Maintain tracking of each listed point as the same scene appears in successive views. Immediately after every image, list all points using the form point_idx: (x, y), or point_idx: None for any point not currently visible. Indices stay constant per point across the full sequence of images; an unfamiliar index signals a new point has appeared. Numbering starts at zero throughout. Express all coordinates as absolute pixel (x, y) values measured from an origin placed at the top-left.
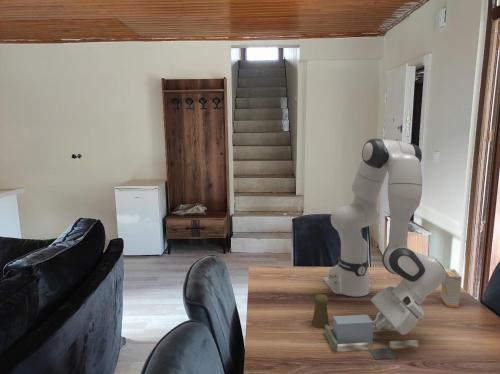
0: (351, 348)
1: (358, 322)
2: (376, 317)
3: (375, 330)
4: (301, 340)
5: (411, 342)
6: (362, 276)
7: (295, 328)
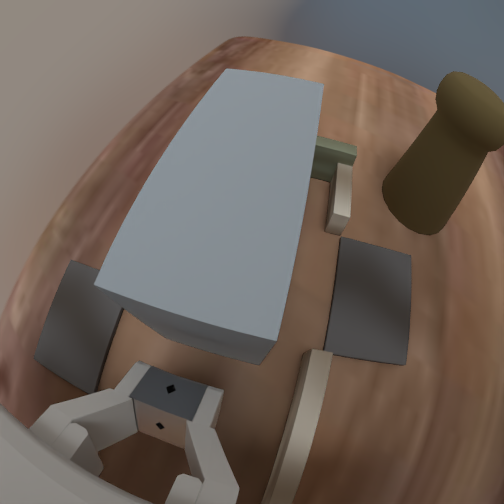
0: None
1: (171, 155)
2: (211, 441)
3: (280, 451)
4: None
5: None
6: None
7: (382, 121)
